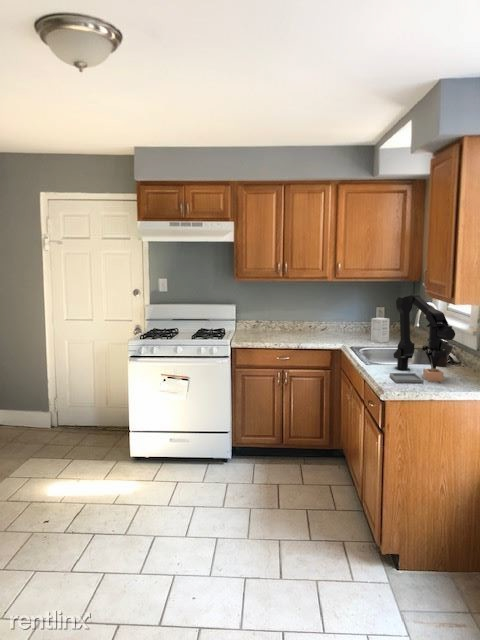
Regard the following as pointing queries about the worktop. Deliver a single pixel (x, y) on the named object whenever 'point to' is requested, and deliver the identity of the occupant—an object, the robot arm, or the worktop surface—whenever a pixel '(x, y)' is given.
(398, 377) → the charcoal tray
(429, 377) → the terracotta square hollow block
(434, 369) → the dowel pin
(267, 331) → the worktop surface
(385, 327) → the supplement box
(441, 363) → the coffee mug
